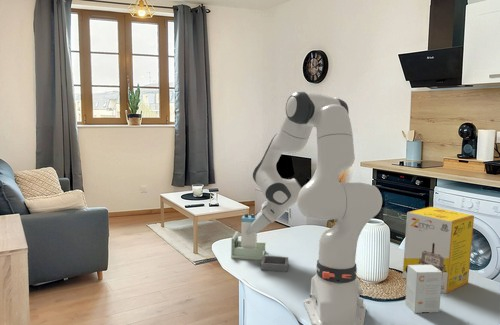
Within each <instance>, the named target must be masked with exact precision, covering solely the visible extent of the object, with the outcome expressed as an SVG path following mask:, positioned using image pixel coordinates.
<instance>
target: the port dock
mask: <svg viewBox="0 0 500 325" xmlns="http://www.w3.org/2000/svg"><path fill="white" fill-rule="evenodd" d="M230 245H231V250H230V252H231V253H230V258H232V259H241V260H242V259H243V260H253V261H254V260H257V261H262V258H263V256H265V253H266V242H265V241H257V248H256V249H255V248H241V240H239V231H238V230H237V231H235V232H234V234H233V236H232V238H231V244H230Z"/></svg>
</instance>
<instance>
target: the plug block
mask: <svg viewBox="0 0 500 325" xmlns="http://www.w3.org/2000/svg"><path fill="white" fill-rule="evenodd" d="M256 218H257V216H256V214H255V213H251V215H249V213H244V215H242V217H241V224H240V225H241V230H240V231H241V232H240V233H241V234H240V235H241V236H240V241H241V248H255V249H256V248H257V242H258V232H257V233H255V232H254V231H253V232H252V233H250V234H249V235H247V234H246V233H245V232H246V231H247V230H248V229H249V228H250V226H251V225H252V223H253V221H254V220H256Z"/></svg>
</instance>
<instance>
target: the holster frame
mask: <svg viewBox="0 0 500 325" xmlns="http://www.w3.org/2000/svg"><path fill="white" fill-rule="evenodd" d="M288 265H289V257H288V256H275V255H264V256H263V258H262V260H261V262H260V271H271V272H272V271H273V272H285V273H286V272H288V267H289V266H288Z"/></svg>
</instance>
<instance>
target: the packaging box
mask: <svg viewBox="0 0 500 325" xmlns="http://www.w3.org/2000/svg"><path fill="white" fill-rule="evenodd" d="M474 221H475V215H473V214H469V213H463V212H458V211H453V210H450V209H449V210H448V209H445V208H439V207H436V206H435V207H434V206H427V207H423V208H420V209H414V210H411V211H407V213H406V222H405V224H406V225H405V237H404V239H405V240H404V253H403V266H402V268H403V269H402V279H404V278H406V279H405V280H407V269H408V265H433V266H434V267H436V268H437V269H439V270H440V271H442V281H441V294H445V293H446V294H448V293H450V292H452V291H455V290H456V289H458V288H460V287H463V286H464V285H467V284H468V283H469V276H470V267H471V265H470V264H471V253H472V242H473V232H474Z"/></svg>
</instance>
